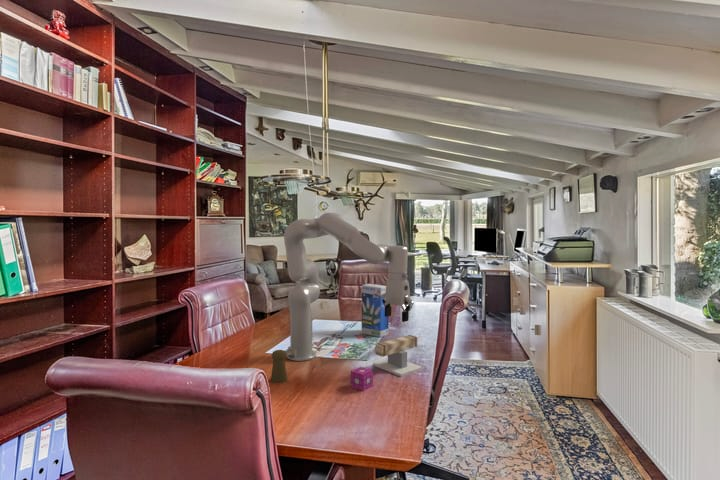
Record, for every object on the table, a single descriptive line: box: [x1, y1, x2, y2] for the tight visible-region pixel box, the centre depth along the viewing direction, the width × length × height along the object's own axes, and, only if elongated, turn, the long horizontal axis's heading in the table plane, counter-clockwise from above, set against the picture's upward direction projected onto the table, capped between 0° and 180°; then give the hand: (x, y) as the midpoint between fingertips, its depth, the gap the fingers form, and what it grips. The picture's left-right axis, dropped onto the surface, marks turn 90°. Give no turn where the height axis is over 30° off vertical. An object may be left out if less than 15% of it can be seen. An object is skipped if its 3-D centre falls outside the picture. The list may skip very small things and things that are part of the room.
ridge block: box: [372, 350, 423, 377], centre depth 156 cm, size 12×16×7 cm
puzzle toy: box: [350, 366, 374, 392], centre depth 138 cm, size 6×6×6 cm
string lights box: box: [361, 283, 390, 338], centre depth 205 cm, size 13×8×26 cm, turn 49°
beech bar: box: [374, 334, 418, 358], centre depth 156 cm, size 20×4×4 cm, turn 130°
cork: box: [270, 349, 288, 384], centre depth 143 cm, size 6×6×11 cm
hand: (396, 318), depth 156 cm, fingers open, 9 cm apart
